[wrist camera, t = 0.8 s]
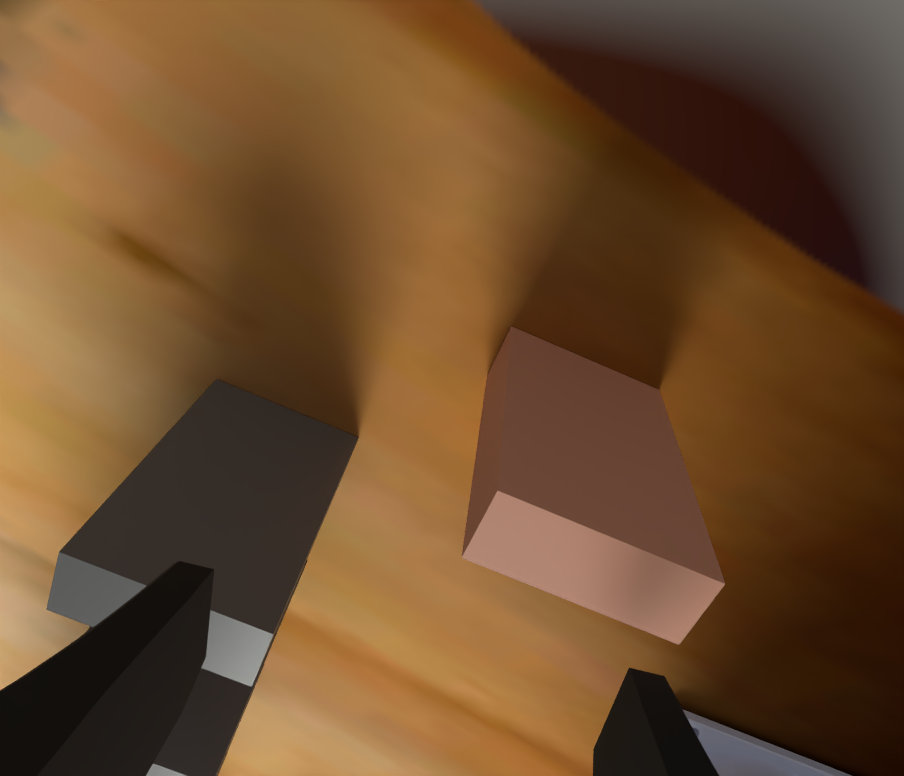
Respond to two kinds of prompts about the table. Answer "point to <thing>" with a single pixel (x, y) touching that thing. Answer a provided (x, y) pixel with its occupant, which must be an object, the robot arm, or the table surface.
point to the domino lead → (587, 491)
